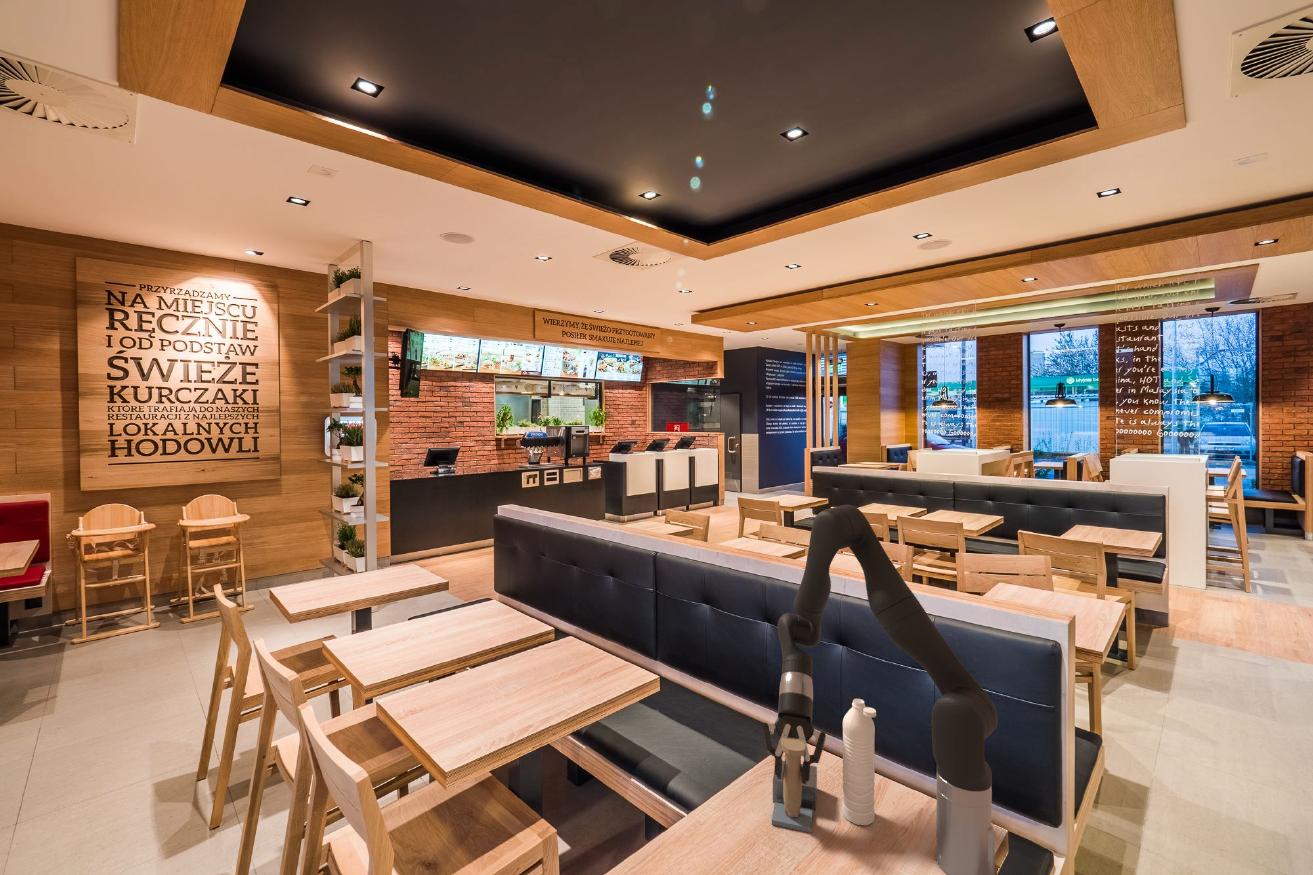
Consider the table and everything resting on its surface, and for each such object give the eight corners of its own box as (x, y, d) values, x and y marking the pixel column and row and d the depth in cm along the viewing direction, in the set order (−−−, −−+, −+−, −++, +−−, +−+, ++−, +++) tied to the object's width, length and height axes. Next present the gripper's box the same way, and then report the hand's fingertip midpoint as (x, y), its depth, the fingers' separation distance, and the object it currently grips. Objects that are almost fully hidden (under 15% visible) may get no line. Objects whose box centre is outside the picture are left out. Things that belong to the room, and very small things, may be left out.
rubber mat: (812, 814, 123) (812, 809, 123) (811, 832, 117) (811, 827, 117) (774, 806, 125) (774, 802, 125) (771, 824, 119) (771, 819, 119)
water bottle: (836, 807, 125) (837, 694, 124) (863, 804, 126) (864, 692, 126) (858, 835, 116) (858, 714, 116) (887, 831, 117) (887, 711, 117)
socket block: (816, 787, 132) (816, 766, 132) (815, 810, 124) (815, 787, 124) (776, 780, 134) (776, 759, 134) (772, 802, 127) (772, 779, 126)
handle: (784, 823, 118) (785, 750, 118) (777, 804, 124) (778, 735, 125) (807, 823, 118) (808, 750, 118) (799, 804, 124) (800, 735, 125)
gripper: (763, 686, 130) (755, 769, 119) (828, 695, 126) (827, 781, 114) (765, 699, 135) (759, 779, 124) (828, 708, 131) (827, 791, 119)
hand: (791, 779), depth 119 cm, fingers open, 4 cm apart
